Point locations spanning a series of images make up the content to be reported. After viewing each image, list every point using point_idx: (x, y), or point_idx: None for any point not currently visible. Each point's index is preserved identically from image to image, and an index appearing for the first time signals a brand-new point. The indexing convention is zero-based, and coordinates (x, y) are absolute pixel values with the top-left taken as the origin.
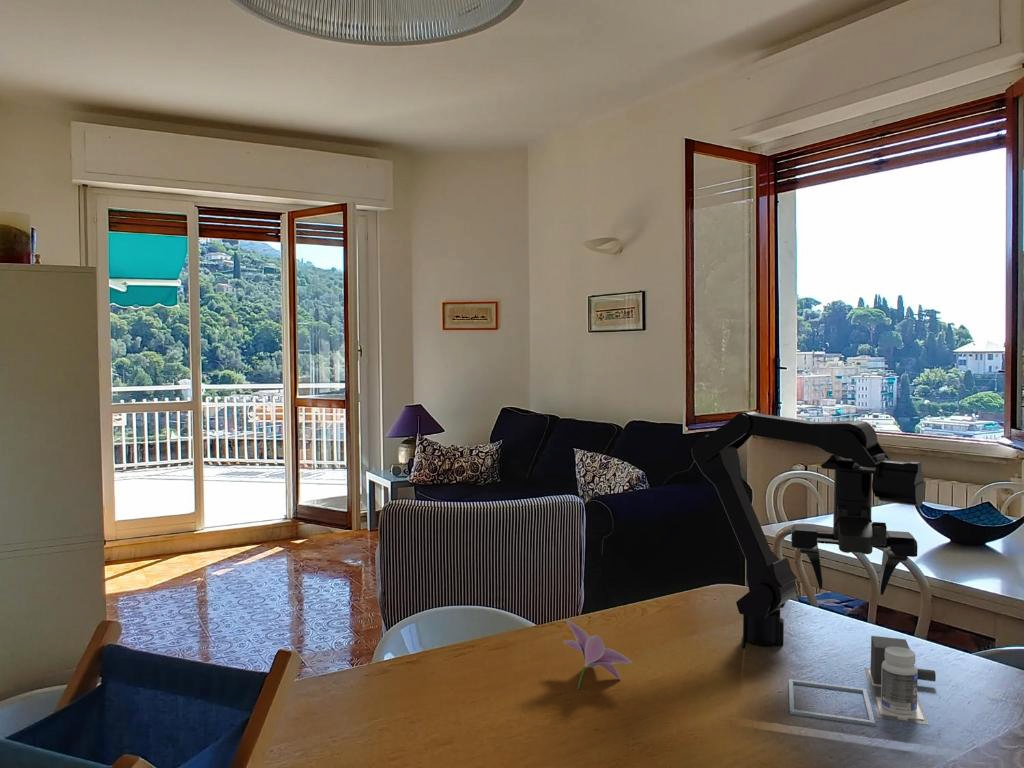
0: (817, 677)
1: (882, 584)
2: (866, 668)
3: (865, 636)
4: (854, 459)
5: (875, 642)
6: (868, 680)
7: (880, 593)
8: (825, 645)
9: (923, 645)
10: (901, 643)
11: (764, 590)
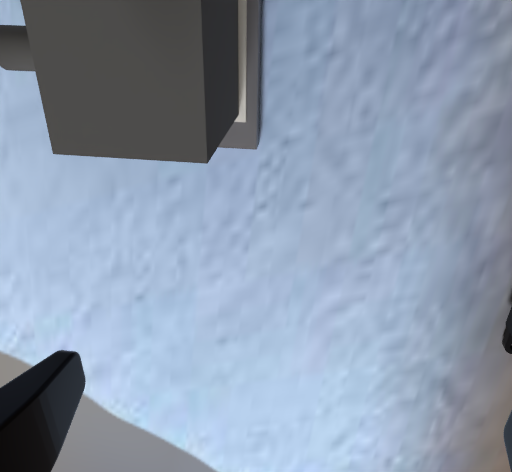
0: (449, 45)
1: (11, 406)
2: (250, 144)
3: (225, 403)
4: None
5: (192, 60)
6: (256, 22)
7: (72, 355)
8: (352, 332)
9: None
10: (67, 87)
11: None
